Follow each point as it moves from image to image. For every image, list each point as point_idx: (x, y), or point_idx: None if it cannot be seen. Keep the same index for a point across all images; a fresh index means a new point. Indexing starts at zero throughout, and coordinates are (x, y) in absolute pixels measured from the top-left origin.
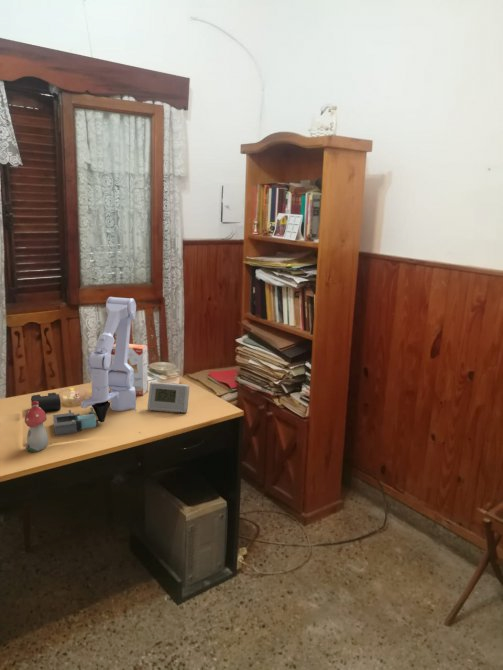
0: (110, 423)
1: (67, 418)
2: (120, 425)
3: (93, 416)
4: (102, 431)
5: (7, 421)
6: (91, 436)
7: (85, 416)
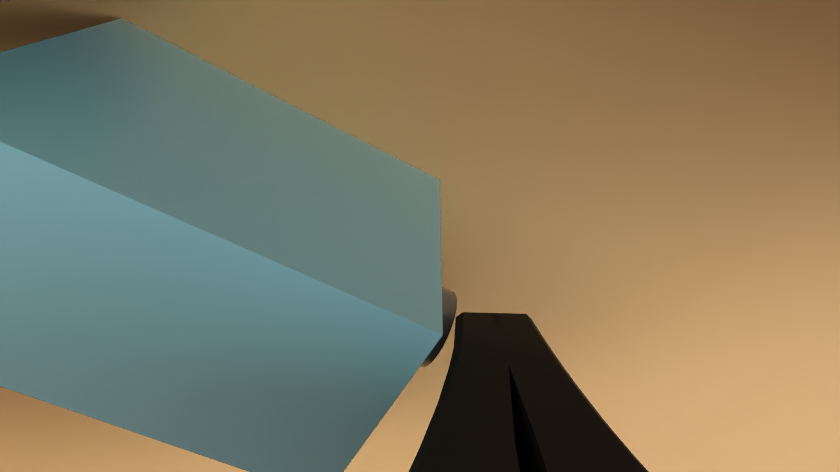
0: (664, 294)
1: None
2: (685, 426)
3: (313, 433)
4: None
5: None
6: None
7: (132, 306)
